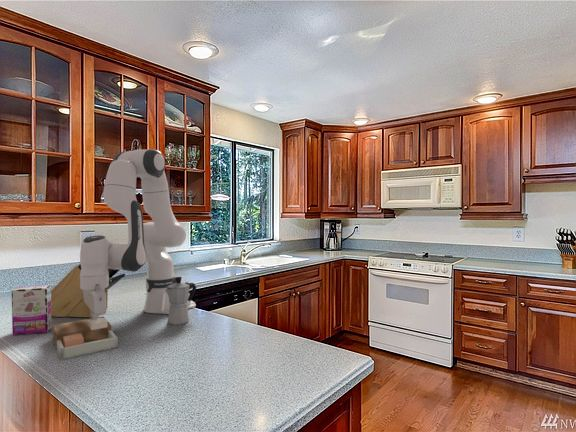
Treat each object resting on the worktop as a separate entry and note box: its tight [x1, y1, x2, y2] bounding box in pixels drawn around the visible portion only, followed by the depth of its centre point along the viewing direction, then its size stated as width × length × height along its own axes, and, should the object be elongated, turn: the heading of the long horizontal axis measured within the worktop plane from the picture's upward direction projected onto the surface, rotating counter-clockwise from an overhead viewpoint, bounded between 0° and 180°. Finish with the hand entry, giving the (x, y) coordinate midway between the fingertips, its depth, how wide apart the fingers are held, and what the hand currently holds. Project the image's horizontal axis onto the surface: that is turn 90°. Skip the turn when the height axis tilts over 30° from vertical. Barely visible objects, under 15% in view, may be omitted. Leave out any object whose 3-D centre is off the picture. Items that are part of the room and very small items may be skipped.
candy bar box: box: [11, 285, 53, 336], centre depth 132 cm, size 11×5×16 cm, turn 105°
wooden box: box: [52, 315, 112, 350], centre depth 125 cm, size 16×12×5 cm
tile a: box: [89, 318, 109, 330], centre depth 124 cm, size 5×5×2 cm
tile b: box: [63, 333, 84, 347], centre depth 115 cm, size 5×5×2 cm
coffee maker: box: [165, 276, 197, 326], centre depth 146 cm, size 15×9×18 cm, turn 143°
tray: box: [56, 329, 119, 361], centre depth 117 cm, size 16×9×3 cm, turn 128°
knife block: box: [51, 263, 126, 319], centre depth 153 cm, size 11×35×31 cm, turn 88°
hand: (94, 321), depth 127 cm, fingers closed
